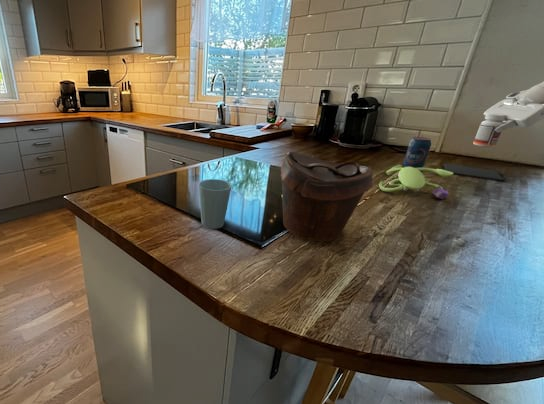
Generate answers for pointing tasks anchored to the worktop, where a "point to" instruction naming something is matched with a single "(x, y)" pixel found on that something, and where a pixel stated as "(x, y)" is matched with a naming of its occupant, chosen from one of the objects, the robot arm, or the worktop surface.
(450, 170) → the mat
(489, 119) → the pill bottle
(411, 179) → the green soft sprawling figure
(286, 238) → the worktop surface
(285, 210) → the brown tapered round container
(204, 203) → the cup
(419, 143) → the soda can
